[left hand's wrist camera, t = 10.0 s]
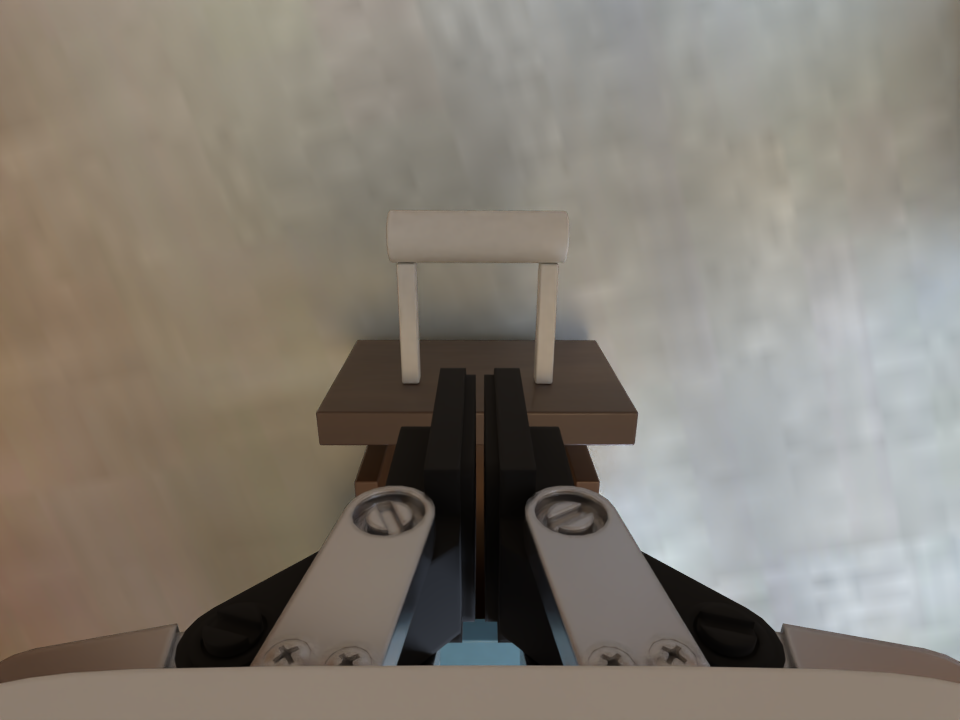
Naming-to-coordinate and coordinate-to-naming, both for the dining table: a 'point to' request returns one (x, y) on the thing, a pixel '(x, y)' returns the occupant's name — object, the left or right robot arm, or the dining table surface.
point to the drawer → (475, 356)
